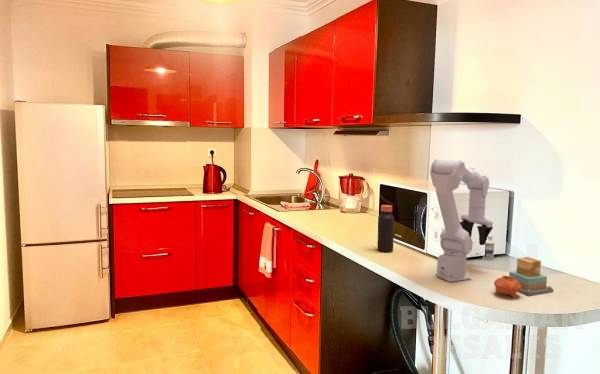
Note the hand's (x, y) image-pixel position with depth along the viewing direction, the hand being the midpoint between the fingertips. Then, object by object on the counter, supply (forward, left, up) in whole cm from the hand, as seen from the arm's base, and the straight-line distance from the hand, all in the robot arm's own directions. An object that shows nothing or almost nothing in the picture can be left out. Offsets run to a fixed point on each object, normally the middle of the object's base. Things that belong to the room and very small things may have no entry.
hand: (474, 242), depth 174 cm
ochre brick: (+1, -24, -5) cm, 25 cm away
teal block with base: (+1, -24, -10) cm, 26 cm away
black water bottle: (-18, +34, -11) cm, 40 cm away
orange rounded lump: (-10, -26, -11) cm, 30 cm away
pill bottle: (+16, +10, -11) cm, 21 cm away
